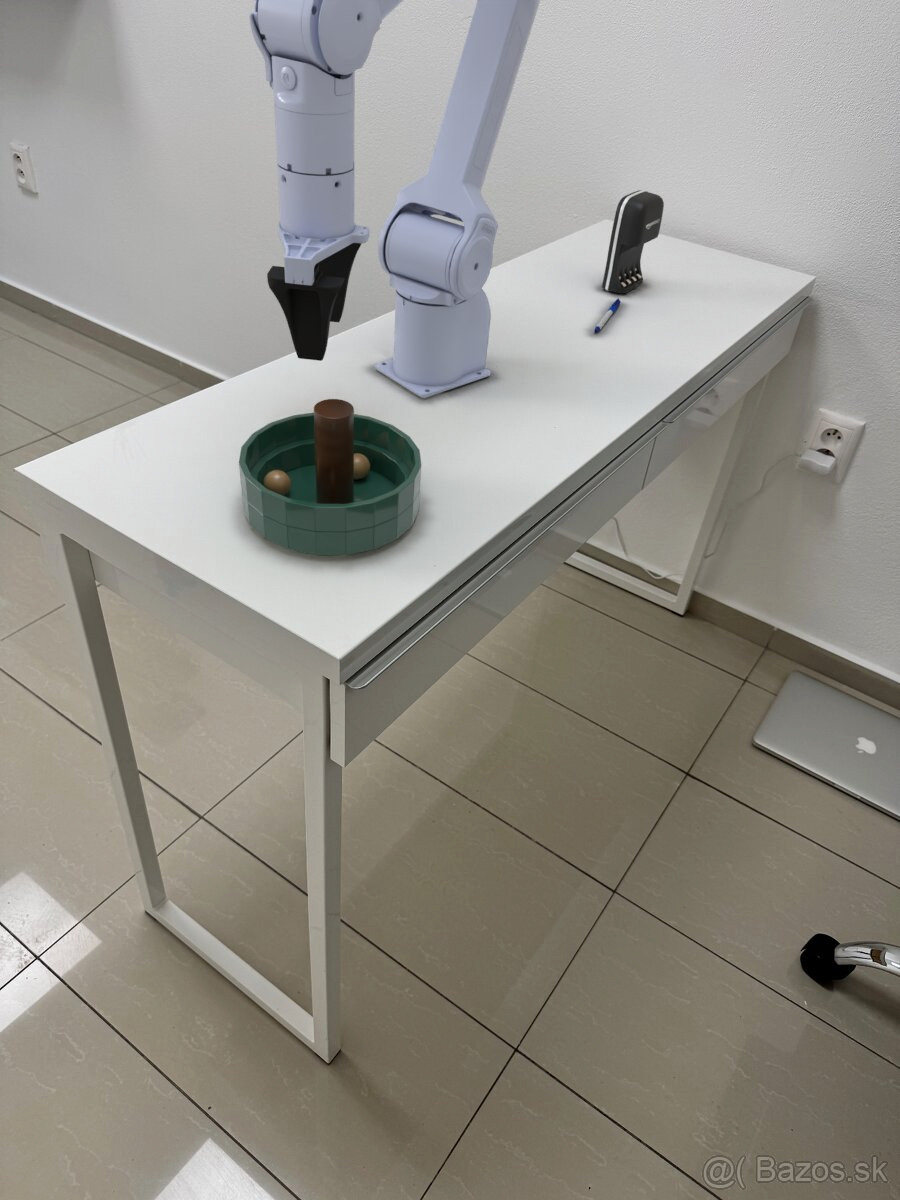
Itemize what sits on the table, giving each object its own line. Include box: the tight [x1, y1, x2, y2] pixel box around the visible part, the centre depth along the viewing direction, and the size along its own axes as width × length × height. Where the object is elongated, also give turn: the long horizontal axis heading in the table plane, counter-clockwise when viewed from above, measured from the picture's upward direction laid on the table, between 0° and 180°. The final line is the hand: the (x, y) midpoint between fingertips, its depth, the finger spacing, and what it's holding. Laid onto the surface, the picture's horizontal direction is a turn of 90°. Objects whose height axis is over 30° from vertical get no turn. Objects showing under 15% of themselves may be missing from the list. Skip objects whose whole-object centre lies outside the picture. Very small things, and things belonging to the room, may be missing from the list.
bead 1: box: [263, 470, 291, 496], centre depth 70 cm, size 2×2×2 cm
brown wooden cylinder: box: [313, 398, 355, 504], centre depth 68 cm, size 3×3×8 cm
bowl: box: [238, 412, 422, 557], centre depth 70 cm, size 14×14×5 cm
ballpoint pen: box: [593, 297, 621, 334], centre depth 105 cm, size 10×1×1 cm, turn 158°
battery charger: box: [601, 189, 665, 294], centre depth 110 cm, size 7×4×11 cm, turn 143°
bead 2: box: [354, 453, 370, 480], centre depth 73 cm, size 2×2×2 cm
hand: (320, 338), depth 74 cm, fingers open, 7 cm apart
